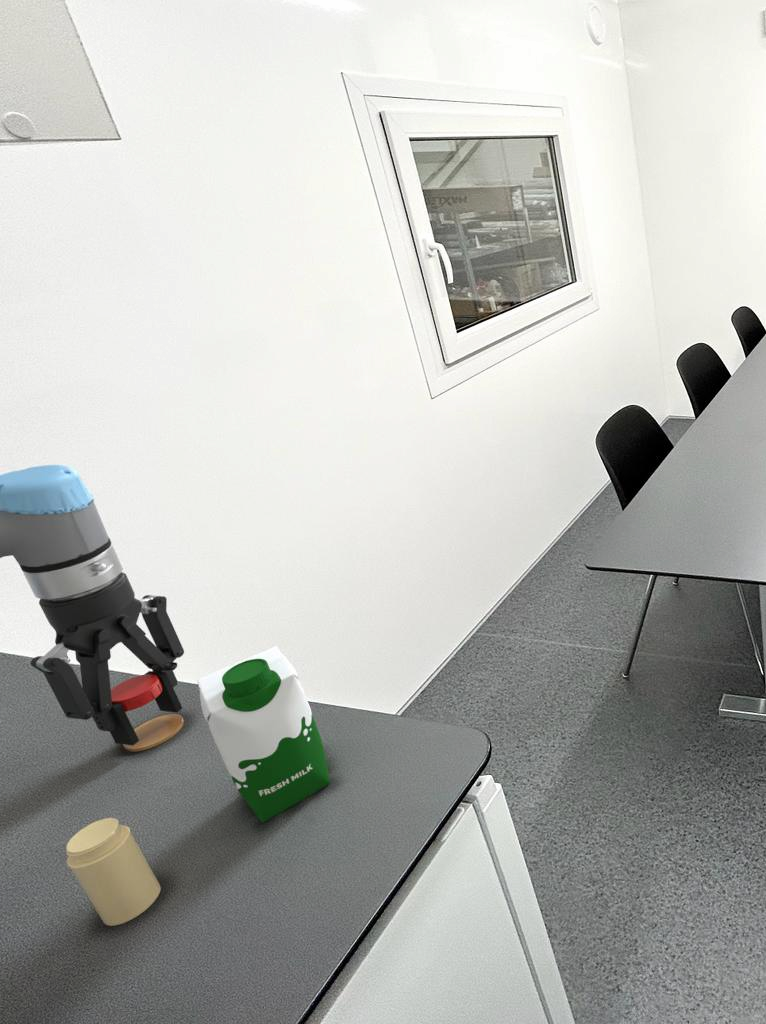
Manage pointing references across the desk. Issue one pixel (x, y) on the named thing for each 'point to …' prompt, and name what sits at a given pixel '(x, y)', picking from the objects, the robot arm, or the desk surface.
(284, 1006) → the desk surface
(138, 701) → the jar lid
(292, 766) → the milk carton
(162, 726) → the coaster
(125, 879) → the jar
